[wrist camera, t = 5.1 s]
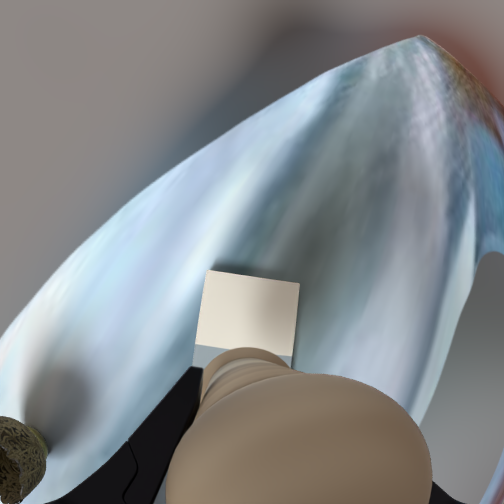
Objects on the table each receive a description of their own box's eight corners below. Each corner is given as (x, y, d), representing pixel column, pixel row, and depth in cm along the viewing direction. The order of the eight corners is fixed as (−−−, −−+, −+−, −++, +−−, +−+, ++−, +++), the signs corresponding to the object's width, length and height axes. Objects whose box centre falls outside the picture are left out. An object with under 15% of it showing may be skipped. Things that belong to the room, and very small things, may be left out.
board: (260, 526, 16) (261, 531, 15) (178, 517, 16) (176, 523, 15) (296, 285, 23) (299, 283, 22) (207, 272, 22) (206, 269, 21)
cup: (78, 481, 15) (36, 517, 8) (23, 470, 14) (-22, 493, 7) (53, 406, 17) (-3, 423, 10) (1, 402, 16) (-53, 410, 9)
